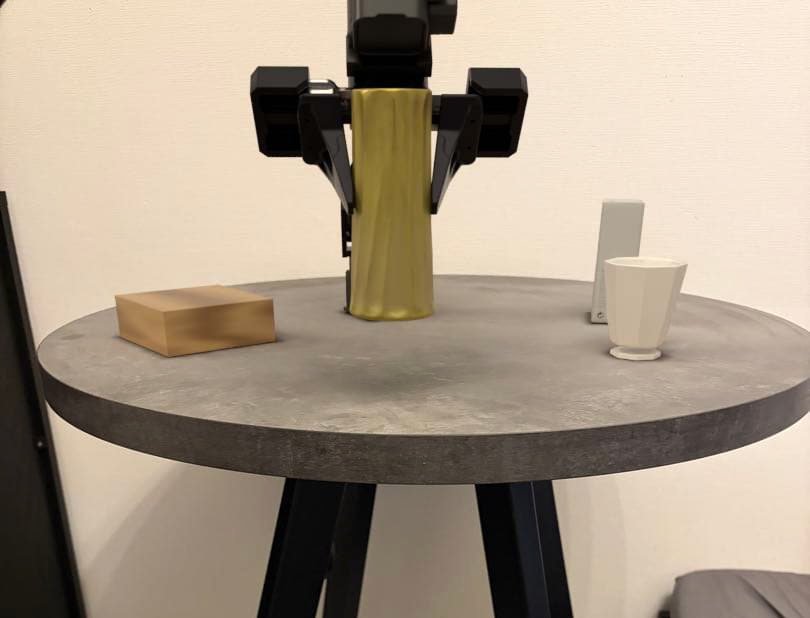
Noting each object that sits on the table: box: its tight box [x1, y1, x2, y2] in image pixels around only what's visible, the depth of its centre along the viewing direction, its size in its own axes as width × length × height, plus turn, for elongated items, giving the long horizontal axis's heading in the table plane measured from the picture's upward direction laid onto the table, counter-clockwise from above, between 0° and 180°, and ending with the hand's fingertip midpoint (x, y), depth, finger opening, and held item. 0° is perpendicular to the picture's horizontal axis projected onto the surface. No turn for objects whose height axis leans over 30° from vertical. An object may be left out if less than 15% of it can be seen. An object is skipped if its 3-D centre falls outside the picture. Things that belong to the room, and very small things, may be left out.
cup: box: [604, 256, 689, 361], centre depth 78 cm, size 7×10×8 cm
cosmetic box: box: [590, 198, 646, 324], centre depth 91 cm, size 6×4×12 cm
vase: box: [350, 88, 436, 322], centre depth 59 cm, size 6×6×14 cm
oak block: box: [114, 284, 276, 358], centre depth 83 cm, size 11×11×4 cm
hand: (392, 210), depth 58 cm, fingers closed on vase, 5 cm apart
